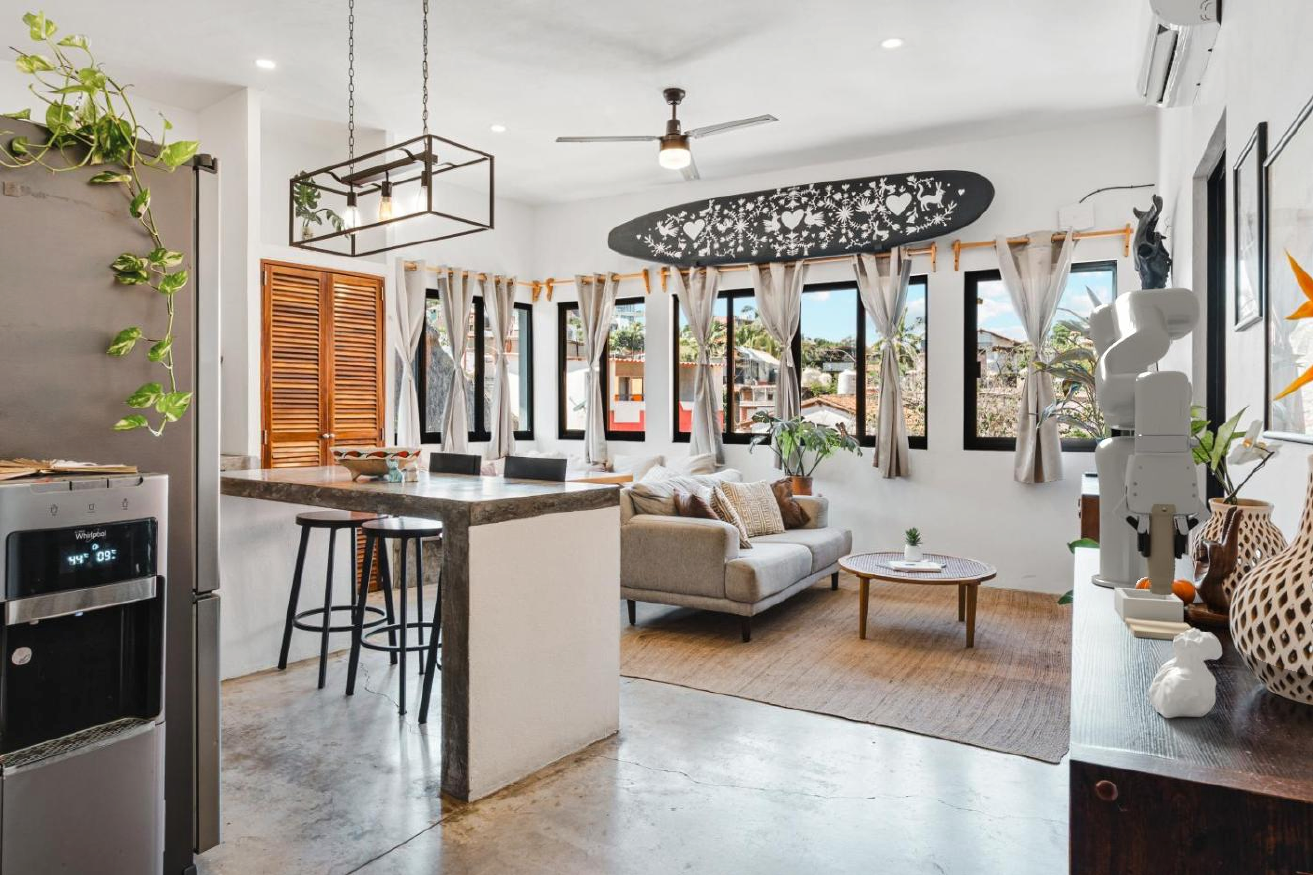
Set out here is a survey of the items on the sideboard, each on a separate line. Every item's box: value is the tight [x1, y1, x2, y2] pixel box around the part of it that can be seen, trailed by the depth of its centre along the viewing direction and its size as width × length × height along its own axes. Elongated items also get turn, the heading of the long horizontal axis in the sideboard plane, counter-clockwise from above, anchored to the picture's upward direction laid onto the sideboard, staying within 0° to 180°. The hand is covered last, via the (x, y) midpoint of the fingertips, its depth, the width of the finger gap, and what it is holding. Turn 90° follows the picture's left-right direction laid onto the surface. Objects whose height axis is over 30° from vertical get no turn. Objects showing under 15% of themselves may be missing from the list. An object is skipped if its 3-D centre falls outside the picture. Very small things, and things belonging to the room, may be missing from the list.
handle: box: [1147, 504, 1176, 595], centre depth 134 cm, size 5×6×15 cm
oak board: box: [1124, 618, 1193, 641], centre depth 134 cm, size 9×9×1 cm
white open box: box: [1113, 587, 1184, 622], centre depth 145 cm, size 10×9×4 cm
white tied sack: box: [1147, 627, 1223, 719], centre depth 97 cm, size 12×8×11 cm
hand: (1161, 555), depth 134 cm, fingers closed on handle, 3 cm apart
